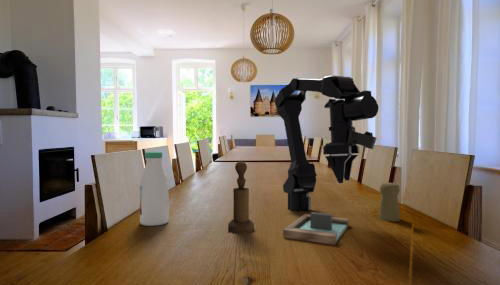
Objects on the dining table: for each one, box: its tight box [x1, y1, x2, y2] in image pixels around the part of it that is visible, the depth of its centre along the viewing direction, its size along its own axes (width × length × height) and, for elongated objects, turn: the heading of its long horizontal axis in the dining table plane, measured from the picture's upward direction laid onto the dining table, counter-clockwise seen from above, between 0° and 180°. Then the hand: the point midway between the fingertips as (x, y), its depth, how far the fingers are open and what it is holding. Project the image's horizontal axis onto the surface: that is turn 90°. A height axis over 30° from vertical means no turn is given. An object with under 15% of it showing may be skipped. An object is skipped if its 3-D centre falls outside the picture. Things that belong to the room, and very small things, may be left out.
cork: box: [378, 182, 401, 222], centre depth 96 cm, size 6×6×11 cm
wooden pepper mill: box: [227, 161, 255, 234], centre depth 85 cm, size 7×6×18 cm
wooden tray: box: [282, 213, 350, 246], centre depth 84 cm, size 12×17×3 cm
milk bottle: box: [139, 151, 170, 227], centre depth 94 cm, size 8×8×20 cm
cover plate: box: [299, 211, 348, 242], centre depth 83 cm, size 10×13×4 cm
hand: (344, 181), depth 89 cm, fingers open, 9 cm apart
